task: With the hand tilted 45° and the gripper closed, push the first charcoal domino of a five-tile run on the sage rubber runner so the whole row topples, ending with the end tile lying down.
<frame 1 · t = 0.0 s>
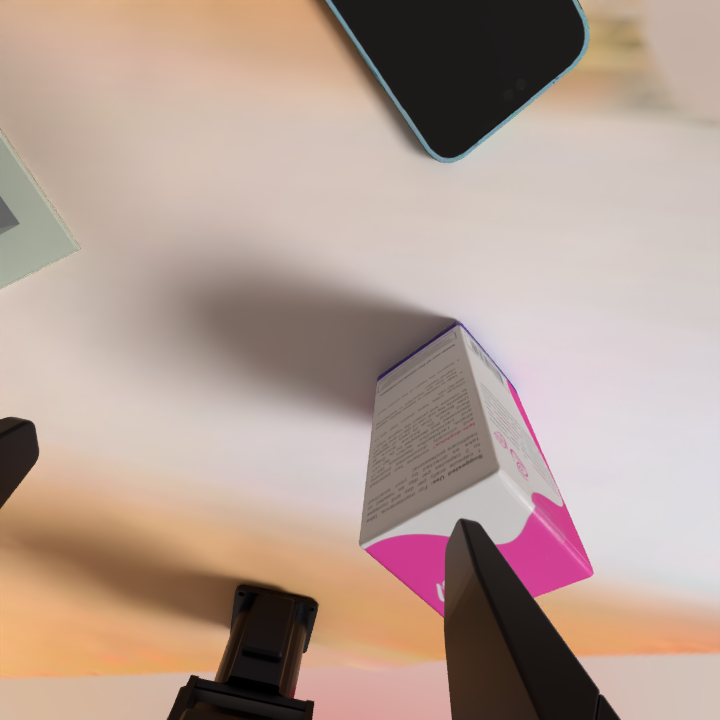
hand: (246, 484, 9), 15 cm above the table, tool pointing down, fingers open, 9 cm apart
supplement box: (445, 384, 24), on the table
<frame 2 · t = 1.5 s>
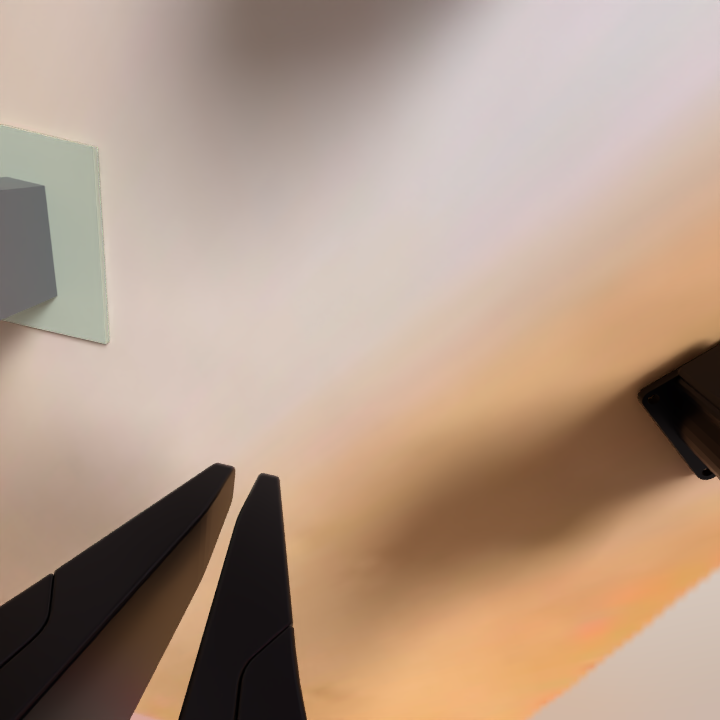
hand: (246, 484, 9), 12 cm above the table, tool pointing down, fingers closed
domino 1: (33, 239, 19), resting on runner
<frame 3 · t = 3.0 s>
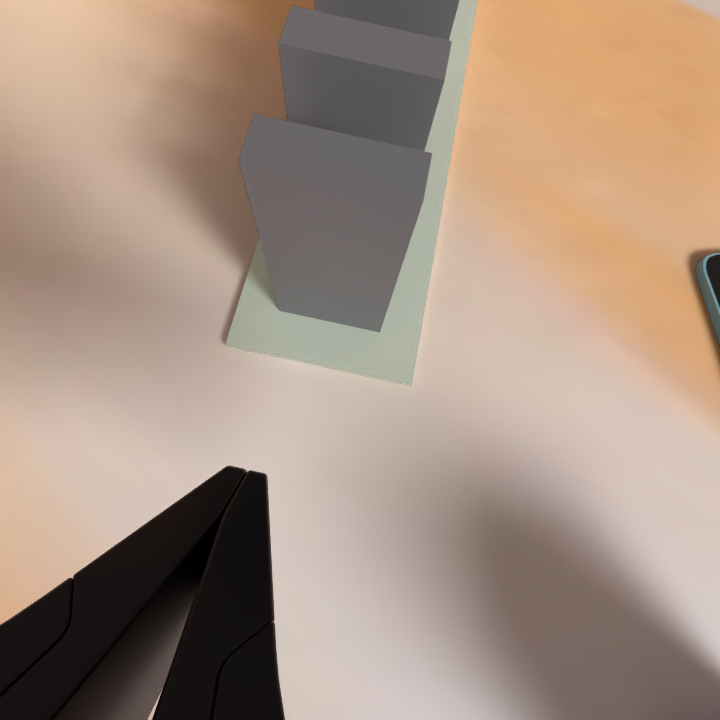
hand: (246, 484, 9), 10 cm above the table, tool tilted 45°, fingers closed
domino 2: (350, 232, 22), resting on runner
domino 3: (366, 168, 24), resting on runner
runner: (377, 124, 25), on the table
domino 1: (333, 306, 21), resting on runner
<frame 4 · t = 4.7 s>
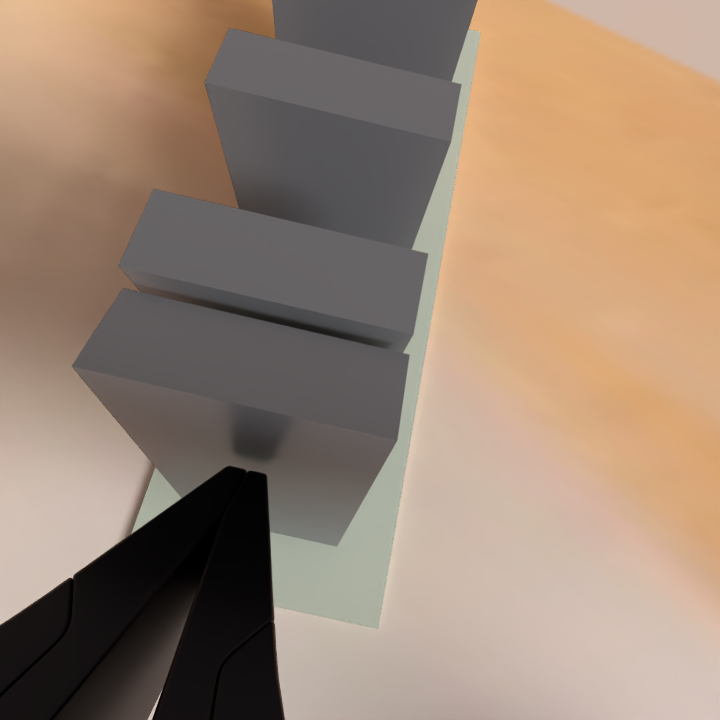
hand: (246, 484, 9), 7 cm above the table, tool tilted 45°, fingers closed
domino 2: (302, 394, 17), resting on runner
domino 3: (328, 300, 18), resting on runner
domino 4: (350, 216, 20), resting on runner
runner: (344, 237, 20), on the table
domino 1: (273, 507, 15), resting on runner, tilted 14°
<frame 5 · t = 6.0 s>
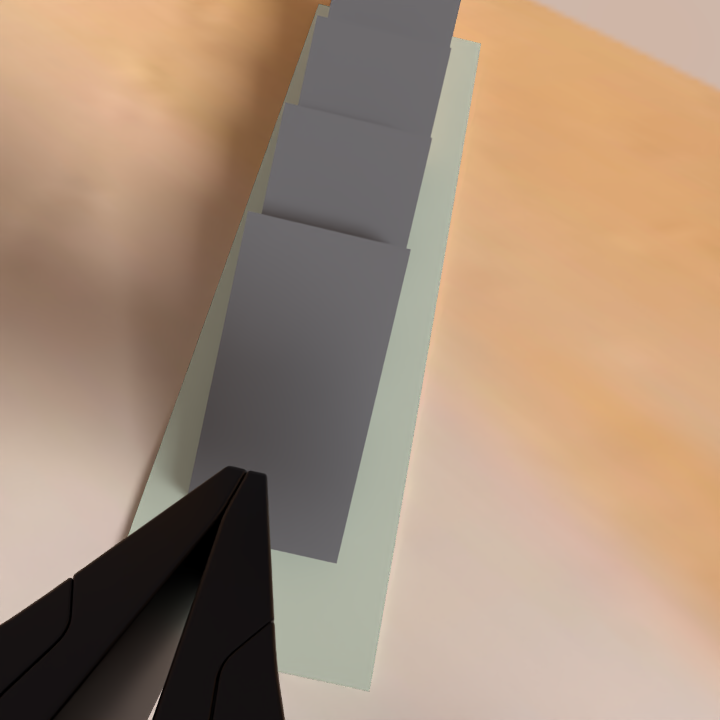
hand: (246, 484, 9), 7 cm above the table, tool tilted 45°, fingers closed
domino 2: (296, 407, 16), point 1 cm above the table, tilted 68°, touching domino 1, domino 3
domino 3: (325, 303, 17), point 1 cm above the table, tilted 68°, touching domino 2, domino 4, runner
domino 4: (352, 202, 18), point 1 cm above the table, tilted 68°, touching domino 3, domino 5
runner: (337, 264, 19), on the table
domino 1: (264, 534, 14), point 1 cm above the table, tilted 68°, touching domino 2, runner
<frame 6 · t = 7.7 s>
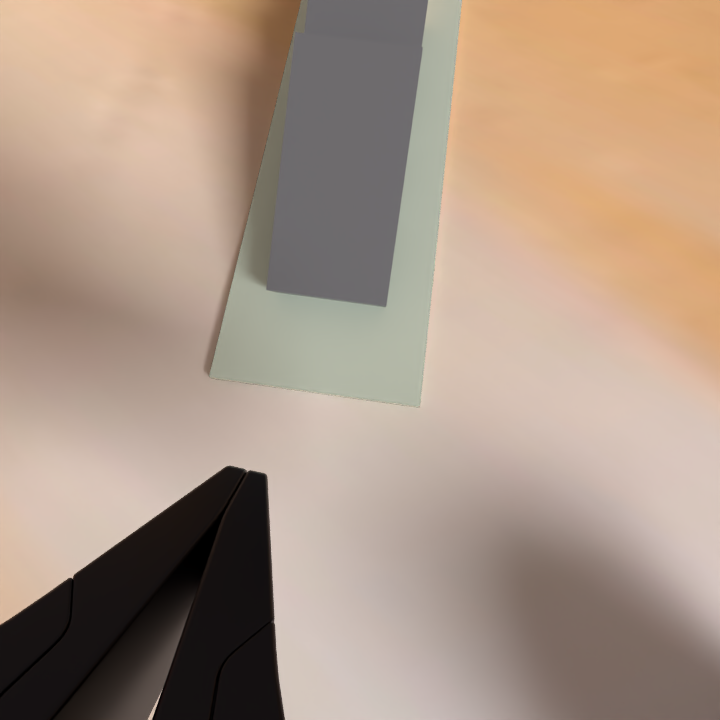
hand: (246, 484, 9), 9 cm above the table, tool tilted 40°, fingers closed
domino 2: (342, 211, 20), point 1 cm above the table, tilted 68°, touching domino 1, domino 3
runner: (362, 114, 22), on the table
domino 1: (328, 298, 18), point 1 cm above the table, tilted 68°, touching domino 2, runner
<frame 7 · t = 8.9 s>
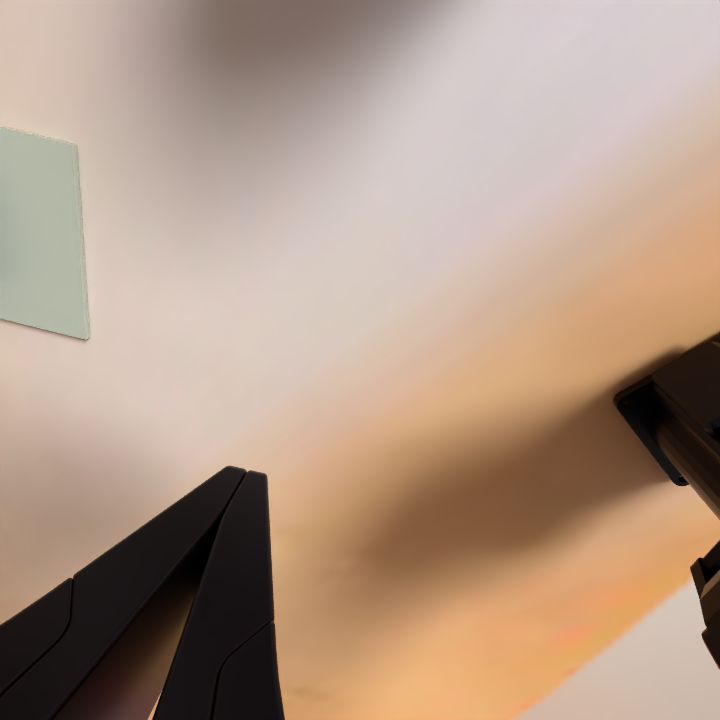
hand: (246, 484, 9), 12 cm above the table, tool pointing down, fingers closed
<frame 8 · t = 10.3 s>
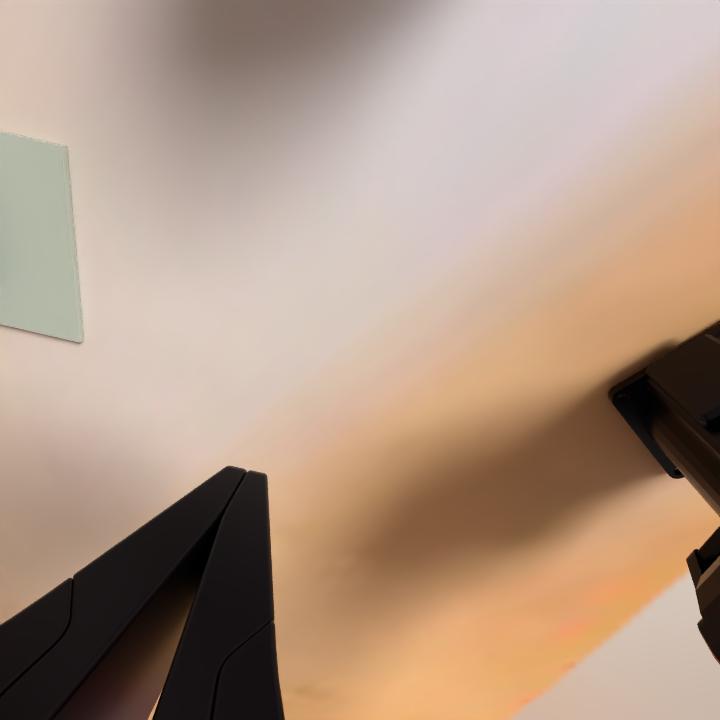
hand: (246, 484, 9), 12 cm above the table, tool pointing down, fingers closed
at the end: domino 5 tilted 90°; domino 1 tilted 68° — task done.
